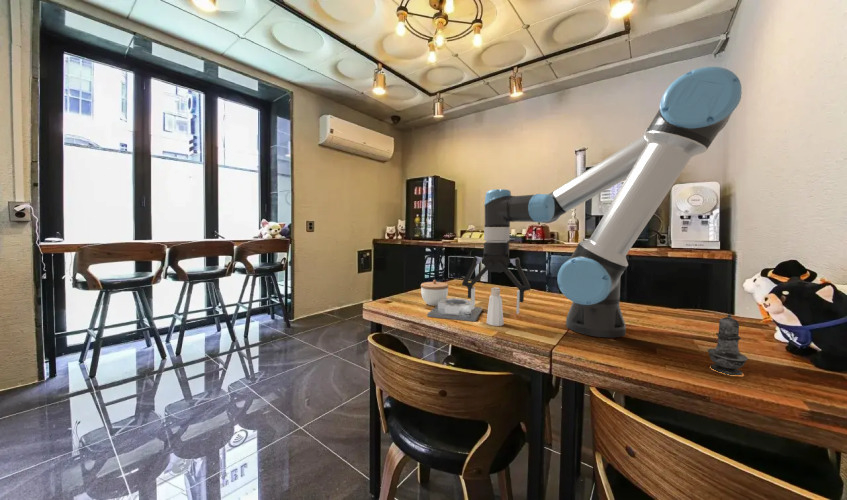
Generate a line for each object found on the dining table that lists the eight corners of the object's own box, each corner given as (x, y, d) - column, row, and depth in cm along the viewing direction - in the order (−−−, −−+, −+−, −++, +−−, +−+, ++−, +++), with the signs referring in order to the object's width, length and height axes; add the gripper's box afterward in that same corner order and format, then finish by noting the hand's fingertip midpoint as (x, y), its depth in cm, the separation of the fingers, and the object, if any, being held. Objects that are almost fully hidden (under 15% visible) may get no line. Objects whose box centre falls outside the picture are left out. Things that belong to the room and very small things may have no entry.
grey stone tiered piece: (725, 364, 65) (728, 309, 64) (755, 377, 59) (760, 317, 59) (698, 365, 65) (701, 309, 64) (726, 378, 59) (731, 317, 58)
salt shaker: (500, 327, 90) (501, 290, 89) (483, 324, 93) (484, 288, 92) (506, 322, 95) (507, 287, 94) (489, 319, 97) (490, 285, 97)
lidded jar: (452, 302, 120) (453, 279, 120) (439, 308, 111) (439, 283, 111) (429, 299, 126) (429, 277, 126) (415, 304, 117) (415, 280, 117)
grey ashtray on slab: (481, 310, 109) (482, 297, 109) (475, 321, 96) (475, 306, 95) (438, 306, 114) (439, 294, 114) (427, 316, 101) (427, 302, 101)
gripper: (540, 242, 92) (537, 311, 93) (458, 240, 100) (457, 303, 101) (541, 243, 85) (538, 317, 86) (453, 241, 93) (452, 309, 94)
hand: (494, 310), depth 94 cm, fingers open, 13 cm apart
